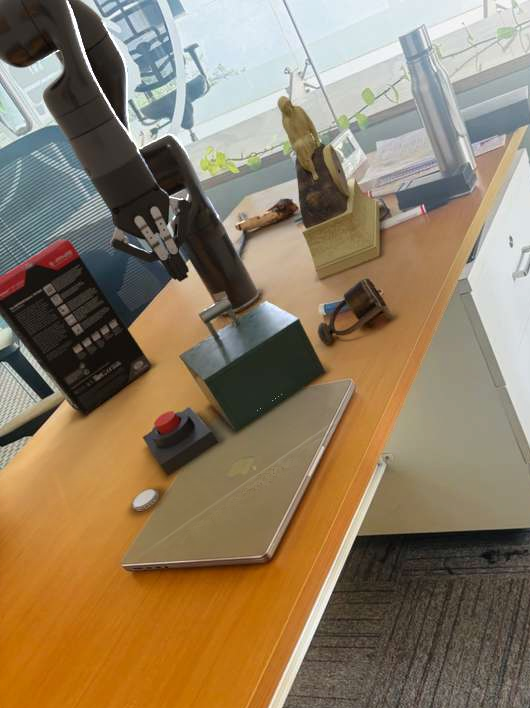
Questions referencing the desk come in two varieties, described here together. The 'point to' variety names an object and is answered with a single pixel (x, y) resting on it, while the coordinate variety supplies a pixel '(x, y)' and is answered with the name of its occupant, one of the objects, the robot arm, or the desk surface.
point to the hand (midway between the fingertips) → (182, 278)
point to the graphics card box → (70, 326)
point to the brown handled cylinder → (356, 309)
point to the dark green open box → (263, 378)
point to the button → (167, 422)
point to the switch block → (180, 441)
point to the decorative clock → (329, 200)
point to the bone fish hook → (269, 215)
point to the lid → (236, 338)
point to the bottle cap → (145, 499)
